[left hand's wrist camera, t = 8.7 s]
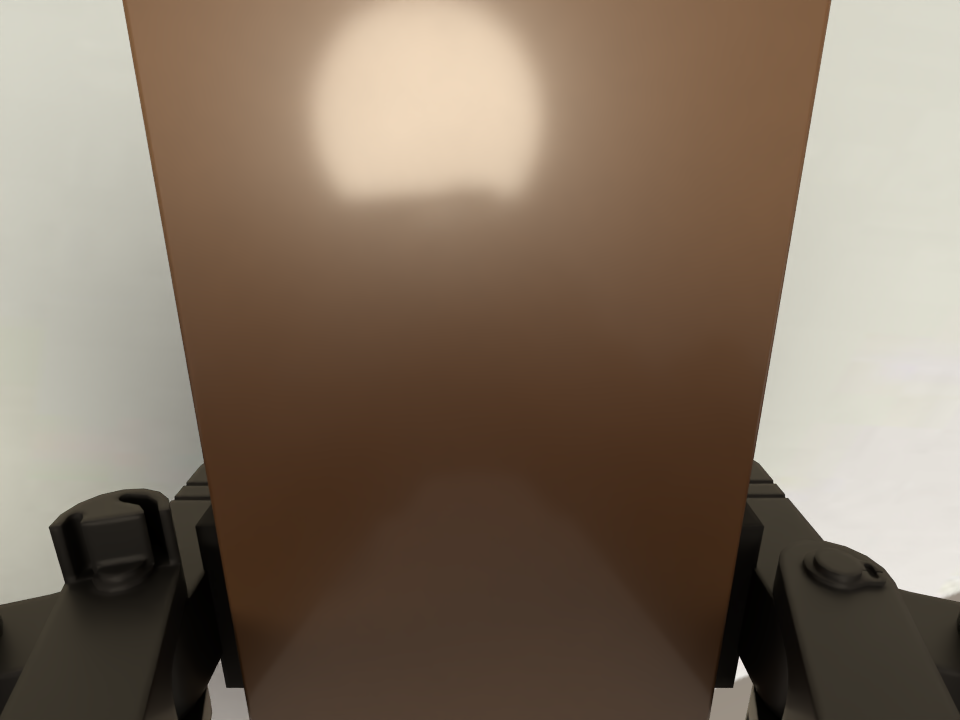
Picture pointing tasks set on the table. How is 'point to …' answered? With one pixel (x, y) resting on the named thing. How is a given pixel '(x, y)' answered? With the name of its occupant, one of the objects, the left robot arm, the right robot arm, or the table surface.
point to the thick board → (478, 334)
